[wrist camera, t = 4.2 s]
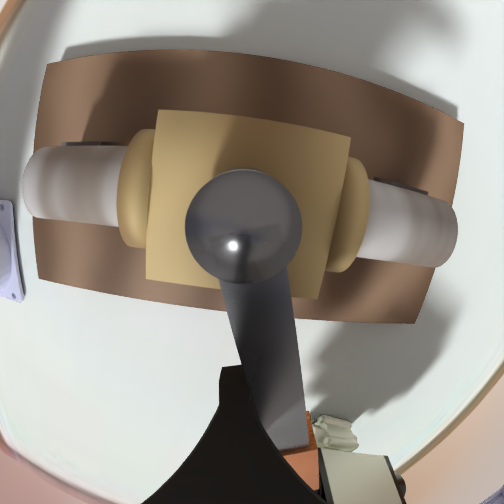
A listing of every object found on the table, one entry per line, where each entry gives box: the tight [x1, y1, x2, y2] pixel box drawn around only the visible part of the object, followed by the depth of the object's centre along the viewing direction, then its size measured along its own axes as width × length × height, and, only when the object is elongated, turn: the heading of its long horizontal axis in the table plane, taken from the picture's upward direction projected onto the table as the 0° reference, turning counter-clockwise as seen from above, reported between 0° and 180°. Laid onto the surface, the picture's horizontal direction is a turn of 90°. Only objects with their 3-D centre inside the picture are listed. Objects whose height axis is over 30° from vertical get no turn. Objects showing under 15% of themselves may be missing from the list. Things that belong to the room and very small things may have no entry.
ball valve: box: [22, 50, 464, 324], centre depth 12 cm, size 26×14×7 cm, turn 82°
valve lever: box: [185, 167, 319, 490], centre depth 9 cm, size 15×3×2 cm, turn 11°
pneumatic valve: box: [312, 415, 406, 504], centre depth 17 cm, size 6×12×12 cm, turn 58°
